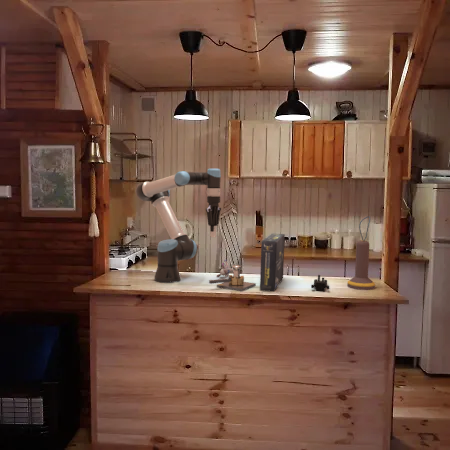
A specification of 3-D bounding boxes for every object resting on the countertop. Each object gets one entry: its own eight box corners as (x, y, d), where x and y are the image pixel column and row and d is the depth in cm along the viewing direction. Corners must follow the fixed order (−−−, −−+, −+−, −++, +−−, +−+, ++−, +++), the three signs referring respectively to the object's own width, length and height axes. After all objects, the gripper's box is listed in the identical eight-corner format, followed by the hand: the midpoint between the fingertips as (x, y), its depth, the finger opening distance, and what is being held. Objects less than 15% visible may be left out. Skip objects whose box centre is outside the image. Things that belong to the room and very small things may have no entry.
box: (275, 292, 257) (277, 240, 254) (259, 290, 259) (260, 240, 256) (284, 279, 291) (285, 233, 288) (269, 278, 293) (270, 233, 290)
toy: (312, 282, 290) (311, 291, 260) (313, 274, 289) (311, 282, 260) (328, 283, 288) (328, 292, 258) (329, 275, 287) (329, 283, 258)
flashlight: (350, 216, 264) (350, 215, 278) (347, 288, 267) (347, 283, 282) (379, 217, 260) (377, 215, 274) (375, 290, 264) (374, 285, 278)
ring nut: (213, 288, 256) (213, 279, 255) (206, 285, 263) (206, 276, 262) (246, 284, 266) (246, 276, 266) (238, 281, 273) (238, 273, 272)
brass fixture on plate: (216, 287, 265) (216, 266, 264) (231, 282, 279) (231, 262, 277) (241, 291, 257) (242, 269, 256) (255, 286, 270) (256, 265, 269)
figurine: (231, 279, 301) (228, 280, 286) (218, 276, 303) (214, 277, 288) (236, 262, 302) (233, 262, 287) (222, 258, 303) (218, 258, 288)
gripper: (213, 196, 266) (212, 238, 268) (225, 195, 277) (224, 236, 279) (201, 195, 270) (201, 237, 272) (214, 195, 281) (213, 235, 283)
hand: (213, 237), depth 276 cm, fingers closed
